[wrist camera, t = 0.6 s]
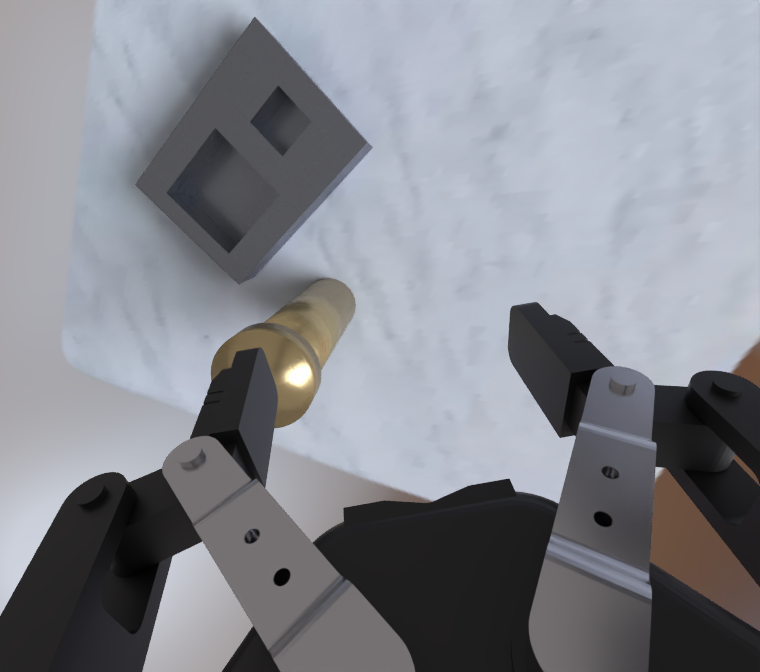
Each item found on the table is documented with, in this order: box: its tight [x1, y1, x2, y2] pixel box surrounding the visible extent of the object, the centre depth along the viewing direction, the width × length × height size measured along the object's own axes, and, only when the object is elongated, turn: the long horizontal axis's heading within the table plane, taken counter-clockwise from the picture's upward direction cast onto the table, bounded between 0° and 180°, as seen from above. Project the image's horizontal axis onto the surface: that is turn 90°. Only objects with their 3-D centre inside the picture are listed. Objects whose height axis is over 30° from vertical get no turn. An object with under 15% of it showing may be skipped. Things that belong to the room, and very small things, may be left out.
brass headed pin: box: [211, 279, 356, 428], centre depth 27 cm, size 5×5×15 cm
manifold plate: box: [135, 17, 373, 284], centre depth 29 cm, size 14×10×3 cm
